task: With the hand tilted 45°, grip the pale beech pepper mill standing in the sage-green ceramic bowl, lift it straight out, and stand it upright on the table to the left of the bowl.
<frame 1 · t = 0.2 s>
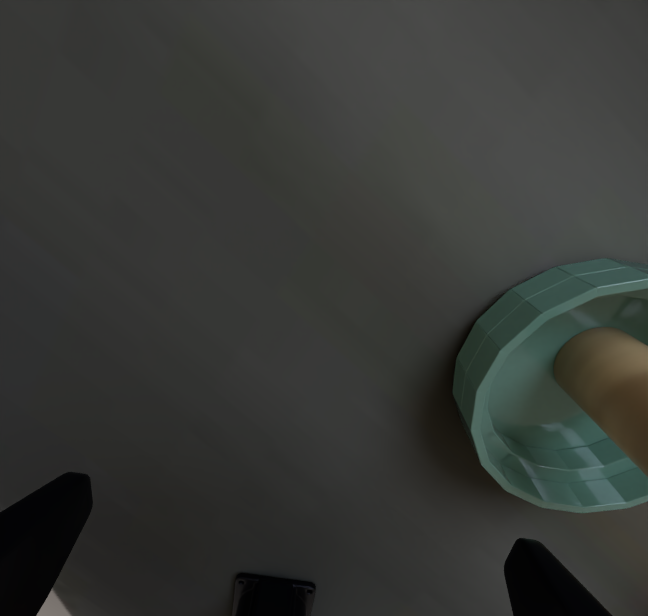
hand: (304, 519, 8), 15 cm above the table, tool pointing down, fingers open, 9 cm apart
pepper mill: (594, 362, 22), resting on bowl
bowl: (569, 370, 23), on the table
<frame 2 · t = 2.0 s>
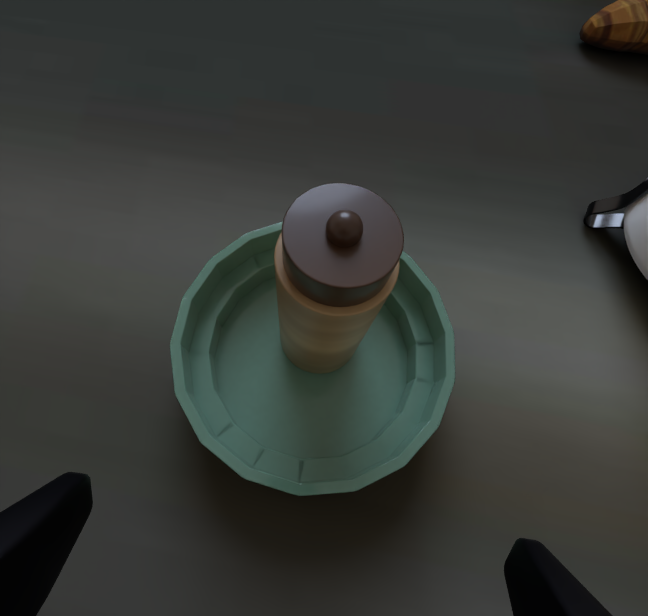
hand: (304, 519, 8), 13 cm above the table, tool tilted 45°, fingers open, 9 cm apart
pepper mill: (319, 335, 22), resting on bowl
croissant: (636, 45, 37), on the table
bowl: (312, 357, 22), on the table
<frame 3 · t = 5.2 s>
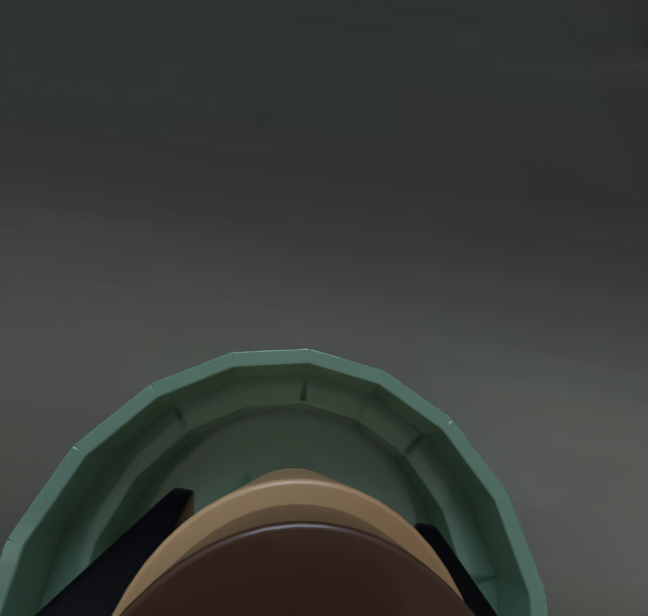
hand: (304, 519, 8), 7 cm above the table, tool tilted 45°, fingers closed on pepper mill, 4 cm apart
pepper mill: (290, 539, 13), point 1 cm above the table, touching bowl, gripper
bowl: (280, 579, 13), on the table
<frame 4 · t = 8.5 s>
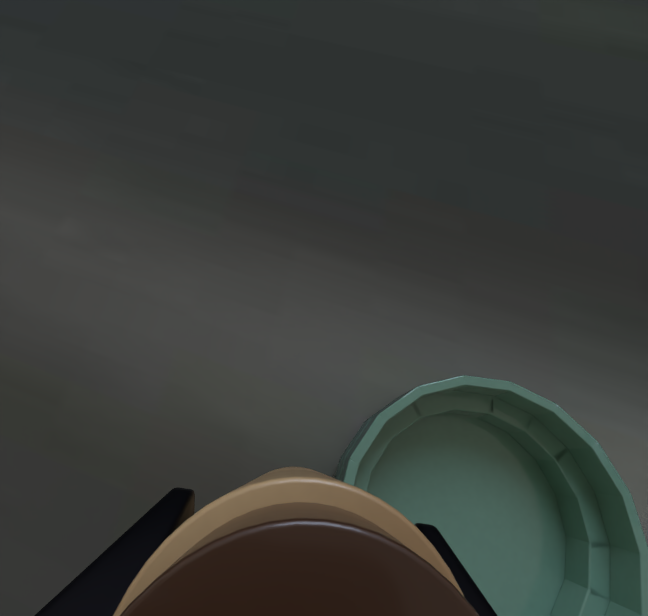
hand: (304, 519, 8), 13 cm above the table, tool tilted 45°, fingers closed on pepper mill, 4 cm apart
pepper mill: (291, 539, 13), point 7 cm above the table, touching gripper
bowl: (457, 521, 20), on the table
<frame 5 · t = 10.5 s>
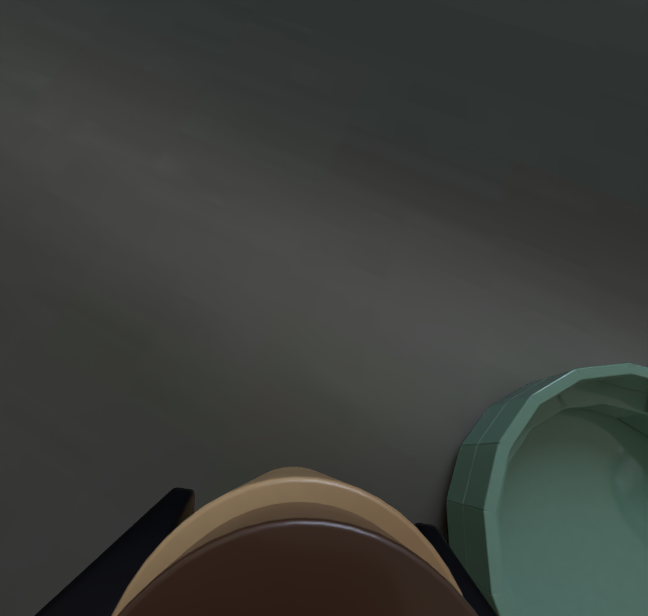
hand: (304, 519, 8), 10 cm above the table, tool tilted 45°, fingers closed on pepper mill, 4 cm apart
pepper mill: (291, 539, 13), point 4 cm above the table, touching gripper
bowl: (594, 537, 17), on the table
when the fingers open (6 cm above the table, at t = 11.9 s): pepper mill stays where it is, on the table.
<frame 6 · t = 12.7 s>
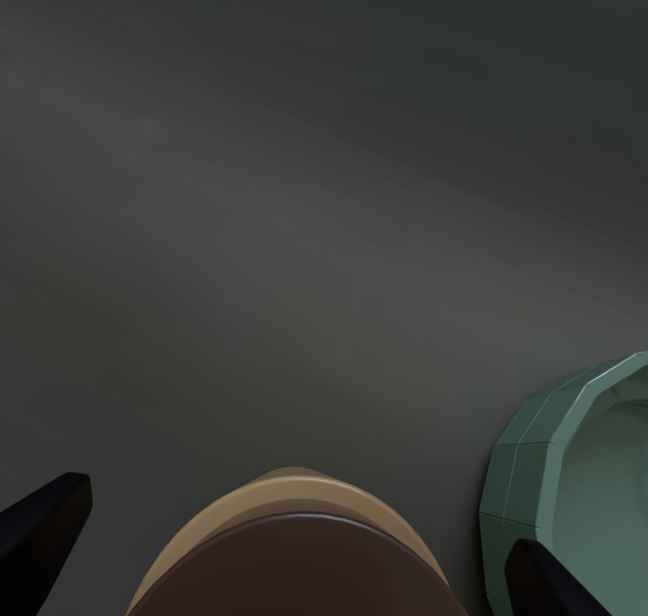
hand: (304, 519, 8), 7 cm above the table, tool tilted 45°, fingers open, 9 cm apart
pepper mill: (291, 536, 13), on the table
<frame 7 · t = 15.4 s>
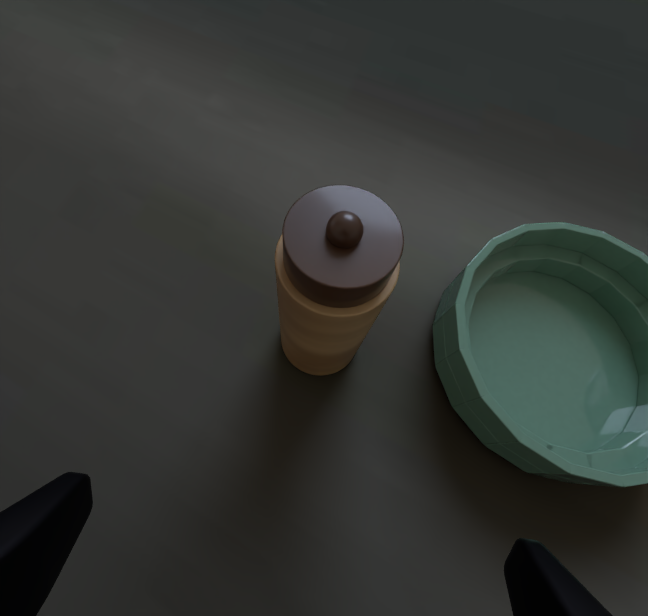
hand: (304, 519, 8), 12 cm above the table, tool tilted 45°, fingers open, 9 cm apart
pepper mill: (319, 337, 23), on the table
bowl: (541, 356, 23), on the table
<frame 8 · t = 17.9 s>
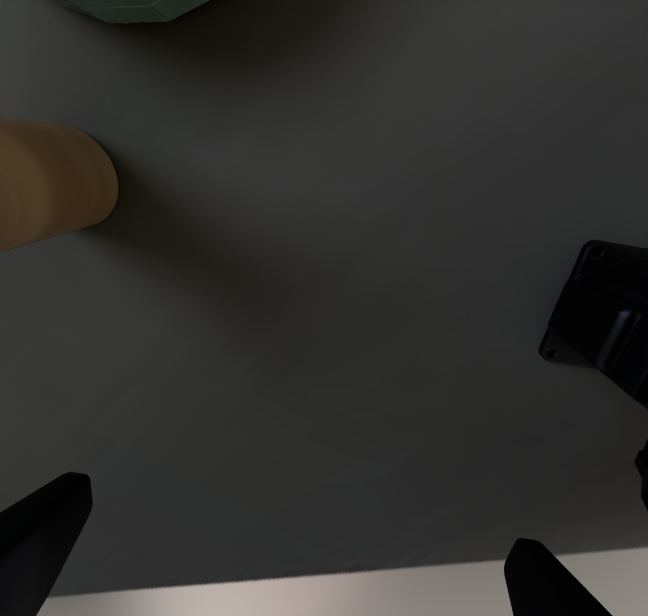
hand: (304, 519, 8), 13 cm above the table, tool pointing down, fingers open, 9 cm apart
pepper mill: (71, 177, 18), on the table
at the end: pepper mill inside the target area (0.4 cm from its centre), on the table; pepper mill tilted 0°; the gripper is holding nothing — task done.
